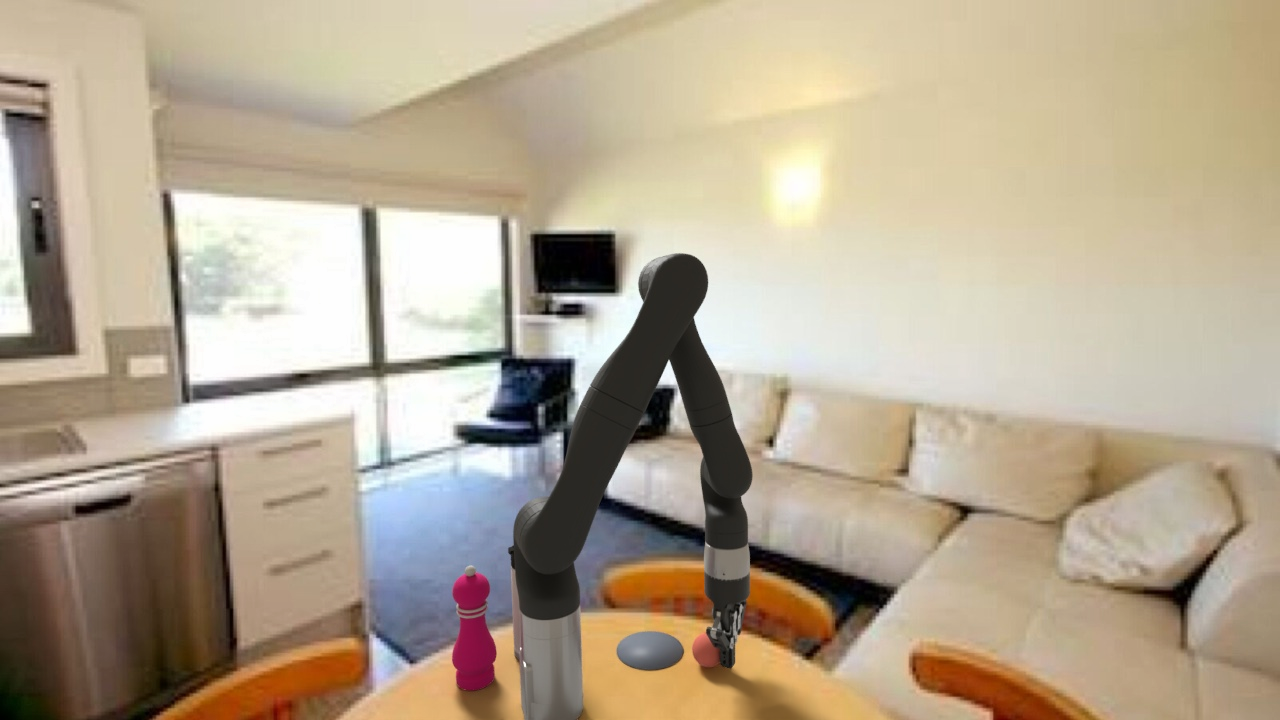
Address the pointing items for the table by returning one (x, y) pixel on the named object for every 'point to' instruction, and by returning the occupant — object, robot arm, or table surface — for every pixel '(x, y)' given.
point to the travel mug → (515, 605)
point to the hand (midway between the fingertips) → (727, 665)
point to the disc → (649, 650)
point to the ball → (705, 651)
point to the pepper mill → (473, 632)
